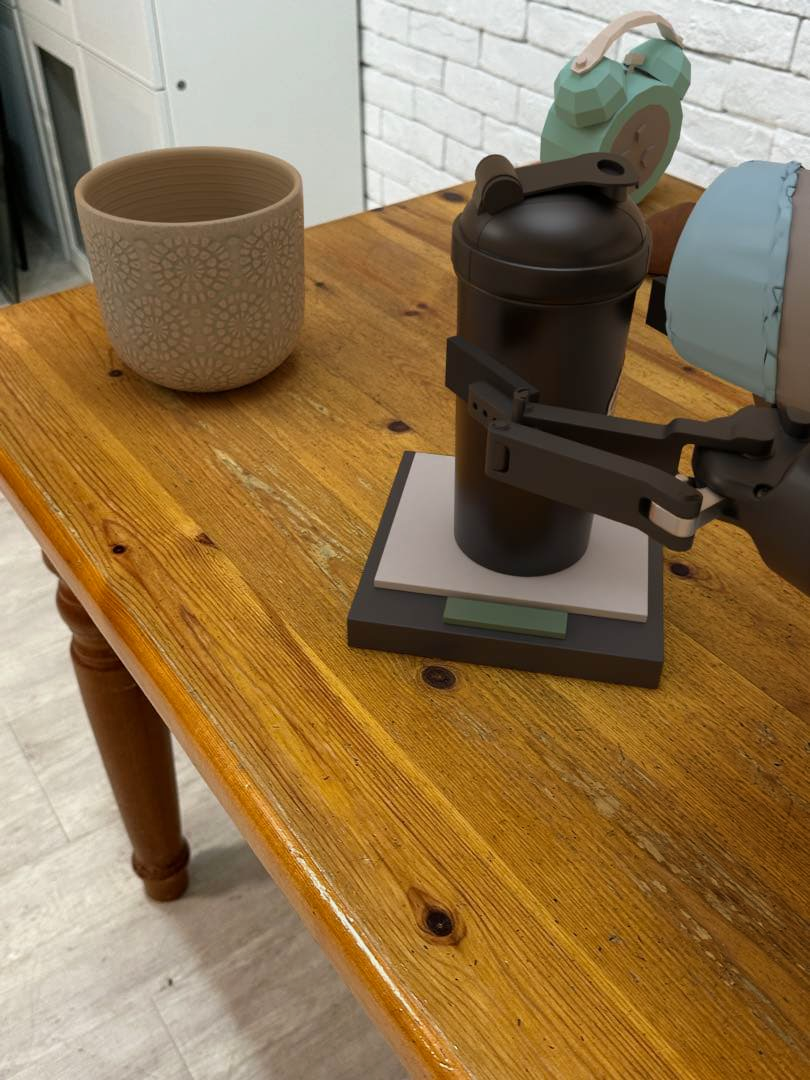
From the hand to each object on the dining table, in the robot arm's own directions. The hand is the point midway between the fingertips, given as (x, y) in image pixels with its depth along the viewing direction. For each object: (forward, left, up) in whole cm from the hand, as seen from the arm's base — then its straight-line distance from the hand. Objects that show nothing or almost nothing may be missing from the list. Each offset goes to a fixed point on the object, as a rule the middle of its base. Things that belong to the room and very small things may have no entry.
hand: (557, 328), depth 55 cm
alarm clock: (-2, -67, -18) cm, 69 cm away
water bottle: (+1, -1, -15) cm, 15 cm away
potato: (-10, -50, -18) cm, 54 cm away
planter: (+29, -23, -18) cm, 41 cm away
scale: (+1, -1, -18) cm, 18 cm away
